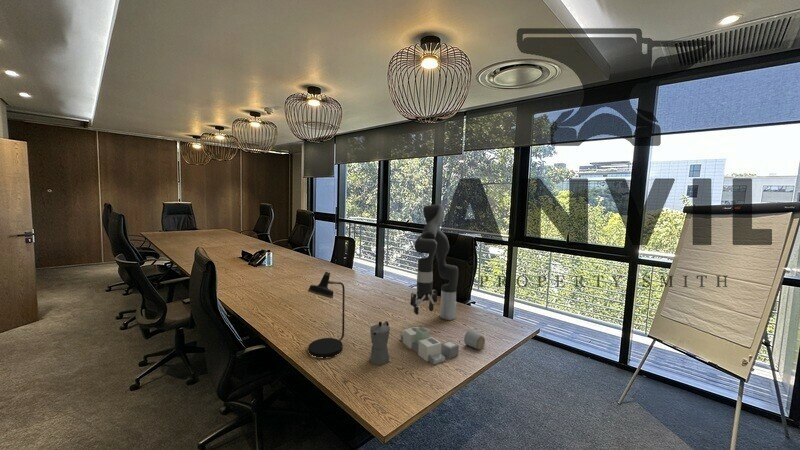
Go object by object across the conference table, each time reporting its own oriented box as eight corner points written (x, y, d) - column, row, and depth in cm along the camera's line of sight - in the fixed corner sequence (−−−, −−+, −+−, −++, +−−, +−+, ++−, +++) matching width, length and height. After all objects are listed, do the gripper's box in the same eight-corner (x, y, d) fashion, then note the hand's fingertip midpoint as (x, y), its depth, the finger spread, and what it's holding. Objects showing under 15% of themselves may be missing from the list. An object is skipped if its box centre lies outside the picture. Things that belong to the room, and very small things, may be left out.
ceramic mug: (477, 352, 153) (478, 337, 152) (463, 346, 159) (464, 331, 158) (488, 345, 160) (489, 331, 159) (475, 340, 166) (475, 326, 165)
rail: (411, 336, 167) (411, 331, 167) (445, 361, 143) (445, 355, 143) (400, 339, 164) (400, 334, 163) (433, 365, 140) (433, 358, 140)
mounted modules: (416, 339, 164) (416, 326, 164) (440, 357, 147) (441, 342, 146) (403, 342, 160) (403, 329, 159) (426, 361, 143) (427, 346, 142)
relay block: (448, 350, 154) (449, 340, 154) (458, 355, 150) (458, 345, 149) (440, 353, 150) (440, 343, 150) (449, 359, 146) (450, 348, 145)
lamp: (298, 353, 147) (298, 272, 143) (332, 336, 165) (333, 264, 161) (323, 364, 138) (323, 278, 134) (355, 345, 156) (357, 269, 153)
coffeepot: (382, 369, 135) (383, 329, 133) (363, 364, 139) (364, 325, 137) (396, 353, 149) (397, 316, 148) (378, 349, 153) (379, 313, 151)
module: (423, 342, 157) (423, 326, 156) (429, 346, 153) (429, 330, 152) (415, 344, 155) (416, 328, 154) (421, 348, 150) (422, 332, 150)
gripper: (431, 276, 157) (430, 307, 159) (408, 279, 150) (407, 312, 151) (441, 280, 151) (440, 312, 152) (417, 283, 143) (415, 318, 145)
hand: (423, 312), depth 152 cm, fingers open, 8 cm apart
